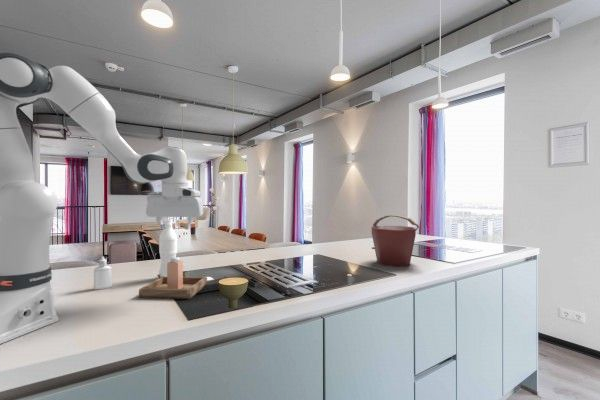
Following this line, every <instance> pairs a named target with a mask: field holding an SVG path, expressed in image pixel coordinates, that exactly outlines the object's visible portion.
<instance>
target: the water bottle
mask: <svg viewBox="0 0 600 400" xmlns="http://www.w3.org/2000/svg"><path fill="white" fill-rule="evenodd" d="M163 224H165V229H162V231H161V233H160V234H159V238H158V242H159V243H158V250H159V251H158V253H159V257H160V266H159V270H158V274H159V278H161V277H167V263H168V262H170V258H173V257H177V252H178V236H177V233H176V232H175V231H174V227H173V225H174V224H173V220H172V218H170V219H169V218H167V219H164V220H163Z"/></svg>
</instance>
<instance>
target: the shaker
mask: <svg viewBox="0 0 600 400" xmlns="http://www.w3.org/2000/svg"><path fill="white" fill-rule="evenodd" d="M183 264H184V261H183V260H181V258H180V256H176V257H173V258H170V262H168V263H167V289H181V288H182V287H183V277H184V265H183Z"/></svg>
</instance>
